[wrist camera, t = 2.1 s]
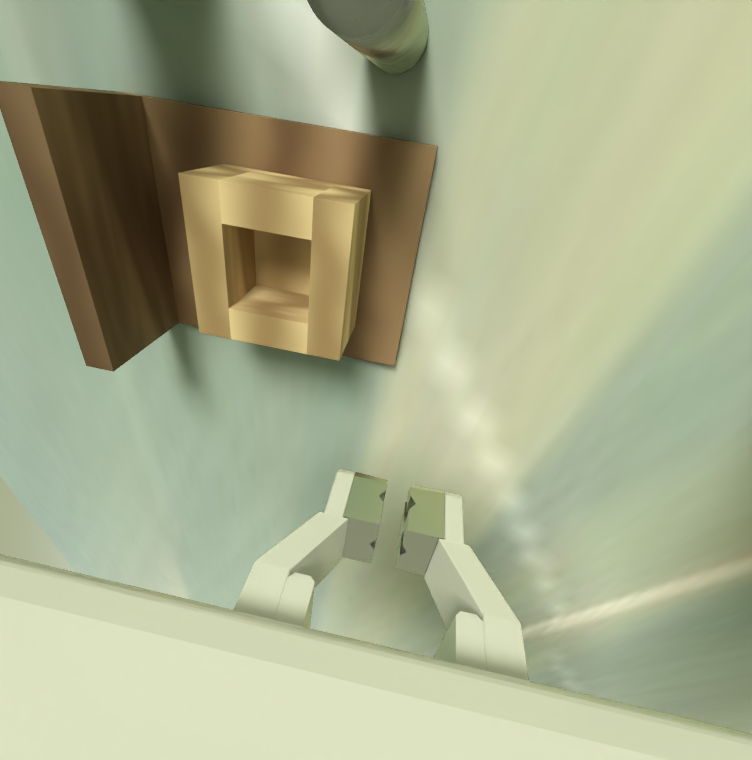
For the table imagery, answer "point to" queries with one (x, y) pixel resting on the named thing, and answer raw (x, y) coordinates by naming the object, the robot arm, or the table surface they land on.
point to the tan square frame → (275, 257)
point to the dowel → (379, 29)
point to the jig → (165, 211)
